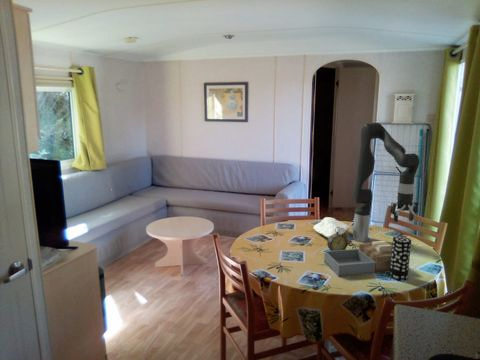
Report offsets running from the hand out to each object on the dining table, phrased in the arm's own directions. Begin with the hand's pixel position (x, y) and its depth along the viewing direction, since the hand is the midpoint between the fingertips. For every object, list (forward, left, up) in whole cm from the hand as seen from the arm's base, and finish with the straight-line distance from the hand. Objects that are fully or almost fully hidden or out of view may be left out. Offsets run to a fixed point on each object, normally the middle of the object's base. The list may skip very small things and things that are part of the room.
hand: (403, 221), depth 193 cm
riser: (-1, -12, -24) cm, 27 cm away
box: (-1, -29, -24) cm, 38 cm away
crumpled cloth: (-49, -17, -24) cm, 57 cm away
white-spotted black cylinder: (+14, -10, -24) cm, 30 cm away
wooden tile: (-1, -11, -15) cm, 19 cm away
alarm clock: (-19, -28, -24) cm, 41 cm away
